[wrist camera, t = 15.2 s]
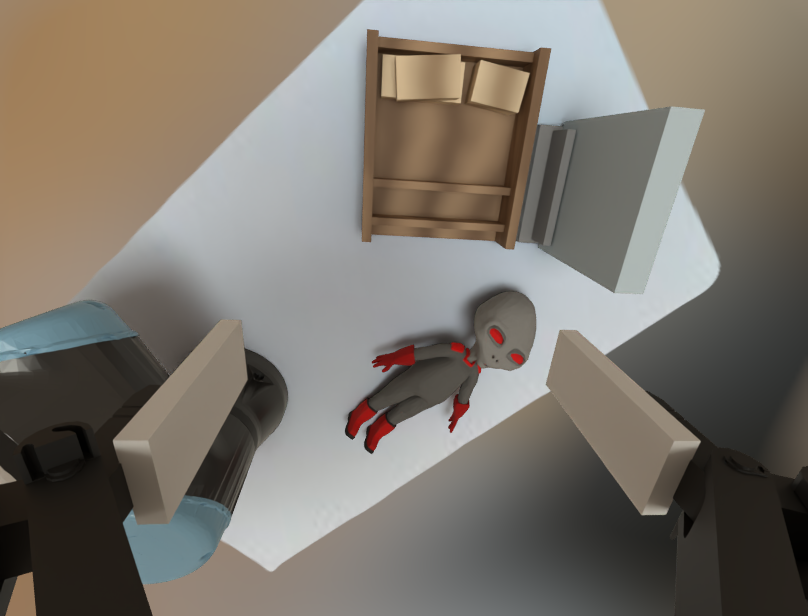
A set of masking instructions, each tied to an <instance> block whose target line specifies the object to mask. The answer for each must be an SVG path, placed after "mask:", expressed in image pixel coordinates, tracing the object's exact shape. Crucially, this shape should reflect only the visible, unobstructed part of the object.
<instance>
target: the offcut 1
mask: <svg viewBox="0 0 808 616" xmlns="http://www.w3.org/2000/svg"><path fill="white" fill-rule="evenodd" d="M395 57H396V55H386V54H383V60H382V85H381V99H391V100H396V83H395ZM464 70H465V62H461V75H460V98H459V99H457V100H445V101H414V102H425V103H437V104H448V105H458V104H460V103H461V97H462V88H463V79H464Z"/></svg>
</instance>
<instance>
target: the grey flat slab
mask: <svg viewBox="0 0 808 616" xmlns="http://www.w3.org/2000/svg"><path fill="white" fill-rule="evenodd" d="M704 111H705V110H701V109H691V108H679V107H665V108H658V109H652V110H644V111H637V112H630V113H623V114H616V115H609V116H602V117H595V118H588V119H581V120H574V121H567V122H564V127H563V130H565V129H571V130H576V134H575V139H574V143H573V148H572V152H571V157H570V161H569V166H568V170H567V174H566V179H565V183H564V188H563V192H562V197H561V201H560V206H559V210H558V215H557V219H556V224H555V228H554V233H553V237H552V242H551V246H543V245H541V244H539V246H538V248H540V249H541V250H543V251H545V252H546V253H548V254H550V255H551V256H553V257H555V258H556V259H558V260H560V261H562V262H563V263H565V264H567V265H568V266H570V267H572V268H573V269H575V270H577V271H578V272H580V273H582V274H583V275H585V276H587V277H588V278H590V279H592V280H593V281H595V282H597V283H598V284H600V285H602V286H603V287H605V288H607V289H608V290H610V291H612V292H613V293H624V294H643V293H644V290H645V287H646V284H647V281H648V278H649V275H650V272H651V269H652V266H653V263H654V260H655V257H656V254H657V251H658V248H659V245H660V242H661V239H662V236H663V233H664V230H665V227H666V225H667V222H668V219H669V216H670V213H671V210H672V207H673V204H674V201H675V198H676V195H677V192H678V189H679V186H680V183H681V180H682V177H683V174H684V171H685V168H686V165H687V162H688V159H689V156H690V153H691V150H692V147H693V144H694V141H695V138H696V135H697V132H698V129H699V126H700V123H701V120H702V117H703V114H704Z"/></svg>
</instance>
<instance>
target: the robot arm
mask: <svg viewBox="0 0 808 616" xmlns="http://www.w3.org/2000/svg"><path fill="white" fill-rule="evenodd" d="M138 336H139V334H138V333H137V332H136V331H132V330H131V329H130V328H129V327H128V326H127V325H126V323H125V322H124V321H123V320H122V319H121V318H120V317H119V316H118V315H117V314H116V312H115V311H114V310H113V309H112V308H111V307H110V306H108V305H106V304H104V303H102V302H99V301H94V300H84V301H79V302H76V303H72V304H69V305H66V306H63V307H60V308H57V309H54V310H51V311H48V312H46V313H43V314H40V315H37V316H34V317H31V318H28V319H25V320H23V321H20V322H17V323H14V324H12V325H9V326H6V327H3V328H1V329H0V616H5V615H6V611H7V608H8V605H9V602H10V599H11V595H12V592H13V589H14V586H15V583H16V580H17V577H18V576H19V575H22V574H26V573H29V572H33V582H34V593H35V605H36V616H152V612H151V609H150V606H149V603H148V600H147V597H146V594H145V591H144V588H143V584H154V583H162V582H167V581H171V580H174V579H178V578H181V577H183V576H185V575H188V574H190V573H192V572H194V571H195V570H197V569H198V568H200V567H201V566H202V565H203V564H205V563H206V562H207V561H208V560H209V559H210V557H211V556H212V554H213V553H214V552H215V550H216V548H217V546H218V543H219V541H220V539H221V537H222V535H223V533H224V531H225V529H226V528H227V527H228V525H229V523H230V520H231V517H232V514H233V511H234V508H235V506H236V503H237V500H238V497H239V495H240V492H241V489H242V487H243V484H244V481H245V478H246V476H247V473H248V470H249V467H250V465H251V462H252V459H253V456H254V454H255V451H256V449H257V448H258V447H259V446H260V445H261V444H262V443H263V442H264V441H265V440H266V439H267V438H268V437H269V435H270V434H272V433H273V432H274V431H275V429H276V428H277V427H278V425H279V424H280V422H281V420H282V418H283V415H284V412H285V409H286V406H287V400H288V393H287V388H286V384H285V382H284V380H283V378H282V376H281V374H280V373H279V371H278V370H277V369H276V368H275V367H274V366H273V365H272V364H271V363H270V362H269V361H267V360H266V359H265V358H263V357H261V356H260V355H258V354H256V353H254V352H251V351H249V350H246V349H244V342H243V333H242V323H241V320H220V321H219V322H218V323H217V325H216V326H215V327H214V328H213V329H212V330H211V331H210V332H209V333H208V335H207V336H206V337H205V338H204V339H203V340H202V341H201V342H200V343H199V345H198V346H197V347H196V348H195V349H194V350H193V351H192V352H191V354H190V355H189V356H188V357H187V358H186V359H185V360H184V361H183V362H182V364H181V365H180V366H179V367H178V368H177V369H176V370H175V371H174V373H173V374H172V375H171V376H169V375H168V374H167V373H166V371H165V370H164V369H163V367H162V366H161V365H160V364H159V362H158V361H157V360H156V359H155V357H154V356H153V355H152V354H151V352H150V351H149V350H148V349H147V347H146V346H145V345H144V344H143V342H142V341H141V340H140V339H139V337H138ZM546 385H547V387H548V388H549V389H550V391H551V392H552V393H553V395H554V396H555V397H556V399H557V400H558V401H559V403H560V404H561V406H562V407H563V408H564V410H565V411H566V412H567V414H568V415H569V416H570V418H571V419H572V421H573V422H574V423H575V425H576V426H577V427H578V429H579V430H580V432H581V433H582V434H583V436H584V437H585V438H586V440H587V441H588V442H589V444H590V445H591V447H592V448H593V449H594V450H595V452H596V453H597V455H598V456H599V457H600V459H601V460H602V461H603V463H604V464H605V466H606V467H607V468H608V470H609V471H610V472H611V474H612V475H613V477H614V478H615V479H616V481H617V482H618V483H619V485H620V486H621V487H622V489H623V490H624V492H625V493H626V494H627V496H628V497H629V498H630V500H631V501H632V502H633V504H634V505H635V507H636V508H637V509H638V511H639V512H640V513H641V515H665V514H666V513H667V511H668V509H669V507H670V505H671V503H672V501H673V499H674V500H675V501H676V502H677V503H678V505H679V506H680V507H681V508H682V509H683V511H682V513H681V515H680V517H679V519H678V521H677V523H676V525H675V527H674V529H673V531H672V533H671V535H670V539H672V540H674V539H675V537H676V536H677V535H678V541H677V566H676V591H675V616H808V466H806V467H802V469H801V471H800V472H799V474H798V475H797V477H796V478H795V479H792V478H788V477H783V476H779V475H775V474H771V473H770V471H769V470H768V469H767V468H765V467H764V466H763V465H762V464H761V463H760V462H758V461H756V460H755V459H753V458H752V457H750V456H748V455H746V454H743V453H741V452H739V451H736V450H732V449H729V448H718V447H717V446H715V445H714V444H713V443H712V442H711V441H710V440H709V439H707V438H706V437H705V436H704V435H703V434H702V433H700V432H699V431H698V430H697V429H696V428H695V427H693V426H692V425H691V424H690V423H689V422H688V421H686V420H684V418H683V417H682V416H681V415H680V414H679V413H677V412H675V411H674V409H672V408H671V407H670V406H669V405H668V404H667V403H666V402H665V401H664V400H662V399H660V398H659V397H657V396H655V395H653V394H652V393H650V392H648V391H644V390H643V389H642V388H641V387H640V386H638V385H637V384H636V383H635V382H634V381H633V380H632V379H631V378H629V377H628V376H627V375H626V374H625V373H624V372H623V371H622V370H621V369H619V368H618V367H617V366H616V365H615V364H614V363H613V362H611V361H610V360H609V359H608V358H607V357H606V356H605V355H604V354H603V353H601V352H600V351H599V350H598V349H597V348H596V347H595V346H594V345H593V344H591V343H590V342H589V341H588V340H587V339H586V338H585V337H584V336H582V335H581V334H580V333H579V332H578V331H577V330H560V331H559V335H558V339H557V343H556V347H555V351H554V355H553V358H552V362H551V366H550V370H549V374H548V378H547V382H546Z"/></svg>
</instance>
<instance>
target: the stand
mask: <svg viewBox="0 0 808 616" xmlns="http://www.w3.org/2000/svg"><path fill="white" fill-rule="evenodd" d="M575 134H576V130H571V129H565V130H563V127H562V126H551V125H537V128H536V134H535V139H534V145H533V150H532V155H531V161H530V166H529V171H528V177H527V182H526V188H525V193H524V198H523V204H522V209H521V215H520V220H519V225H518V231H517V236H516V241H517V242H524V243H539V244H541V245H543V246H551V242H552V237H553V233H554V228H555V224H556V219H557V215H558V210H559V206H560V201H561V197H562V192H563V188H564V183H565V179H566V174H567V170H568V166H569V161H570V157H571V152H572V148H573V143H574V139H575Z"/></svg>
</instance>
